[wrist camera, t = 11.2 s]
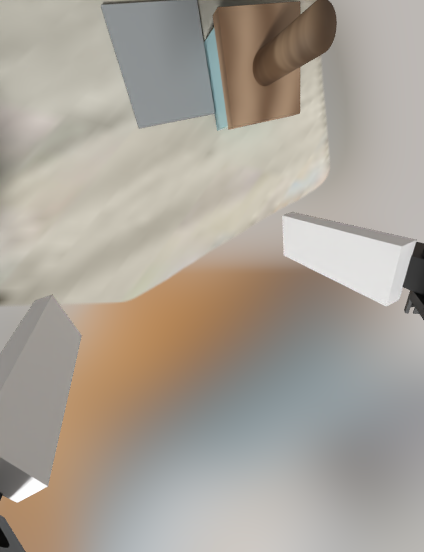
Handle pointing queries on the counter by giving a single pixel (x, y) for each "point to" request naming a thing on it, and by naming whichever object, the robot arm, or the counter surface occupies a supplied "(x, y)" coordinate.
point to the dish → (215, 81)
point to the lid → (268, 56)
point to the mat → (161, 59)
